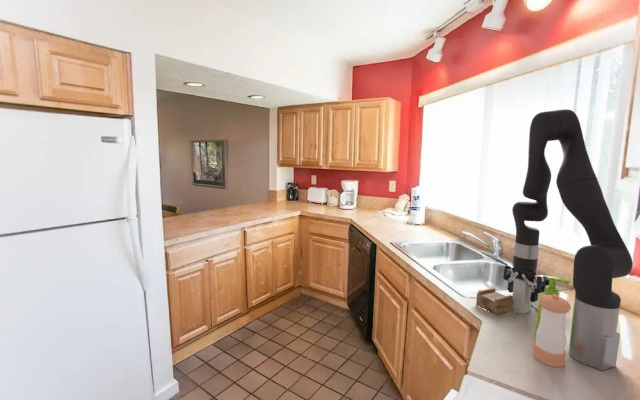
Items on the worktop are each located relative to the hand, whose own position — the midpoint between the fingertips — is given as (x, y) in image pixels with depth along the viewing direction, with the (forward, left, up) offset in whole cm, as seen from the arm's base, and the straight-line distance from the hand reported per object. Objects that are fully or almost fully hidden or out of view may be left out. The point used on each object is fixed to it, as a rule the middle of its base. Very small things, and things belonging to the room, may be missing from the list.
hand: (521, 296), depth 114 cm
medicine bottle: (-1, -10, -5) cm, 11 cm away
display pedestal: (+4, +9, -5) cm, 11 cm away
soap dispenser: (-16, +9, -5) cm, 19 cm away
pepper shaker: (-23, +20, -5) cm, 31 cm away
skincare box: (0, 0, -5) cm, 5 cm away
